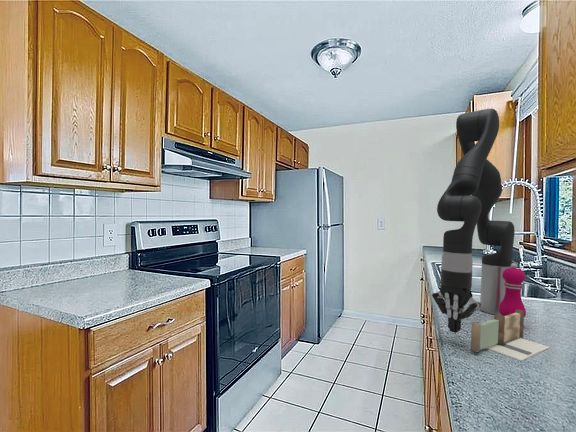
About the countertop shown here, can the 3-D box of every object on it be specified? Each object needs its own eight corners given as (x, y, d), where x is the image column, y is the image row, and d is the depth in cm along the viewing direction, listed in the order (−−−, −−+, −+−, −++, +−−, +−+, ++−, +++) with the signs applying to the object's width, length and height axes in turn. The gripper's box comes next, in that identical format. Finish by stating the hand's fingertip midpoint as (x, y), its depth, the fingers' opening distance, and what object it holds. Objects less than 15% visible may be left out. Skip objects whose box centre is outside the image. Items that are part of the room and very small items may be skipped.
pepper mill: (517, 330, 99) (520, 265, 99) (493, 322, 106) (495, 261, 105) (530, 327, 103) (532, 264, 102) (506, 319, 109) (508, 260, 109)
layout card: (501, 332, 97) (501, 331, 97) (549, 348, 87) (549, 346, 87) (471, 343, 88) (471, 341, 88) (521, 361, 78) (521, 359, 78)
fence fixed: (515, 334, 96) (516, 308, 96) (524, 337, 94) (526, 310, 94) (491, 343, 89) (492, 315, 88) (500, 346, 86) (502, 317, 86)
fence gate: (491, 341, 88) (492, 316, 88) (499, 343, 86) (500, 318, 86) (469, 349, 82) (470, 322, 82) (477, 352, 81) (478, 325, 81)
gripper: (489, 271, 85) (486, 337, 85) (441, 264, 96) (439, 321, 96) (473, 274, 81) (471, 343, 81) (426, 265, 92) (424, 326, 92)
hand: (454, 331), depth 88 cm, fingers closed
